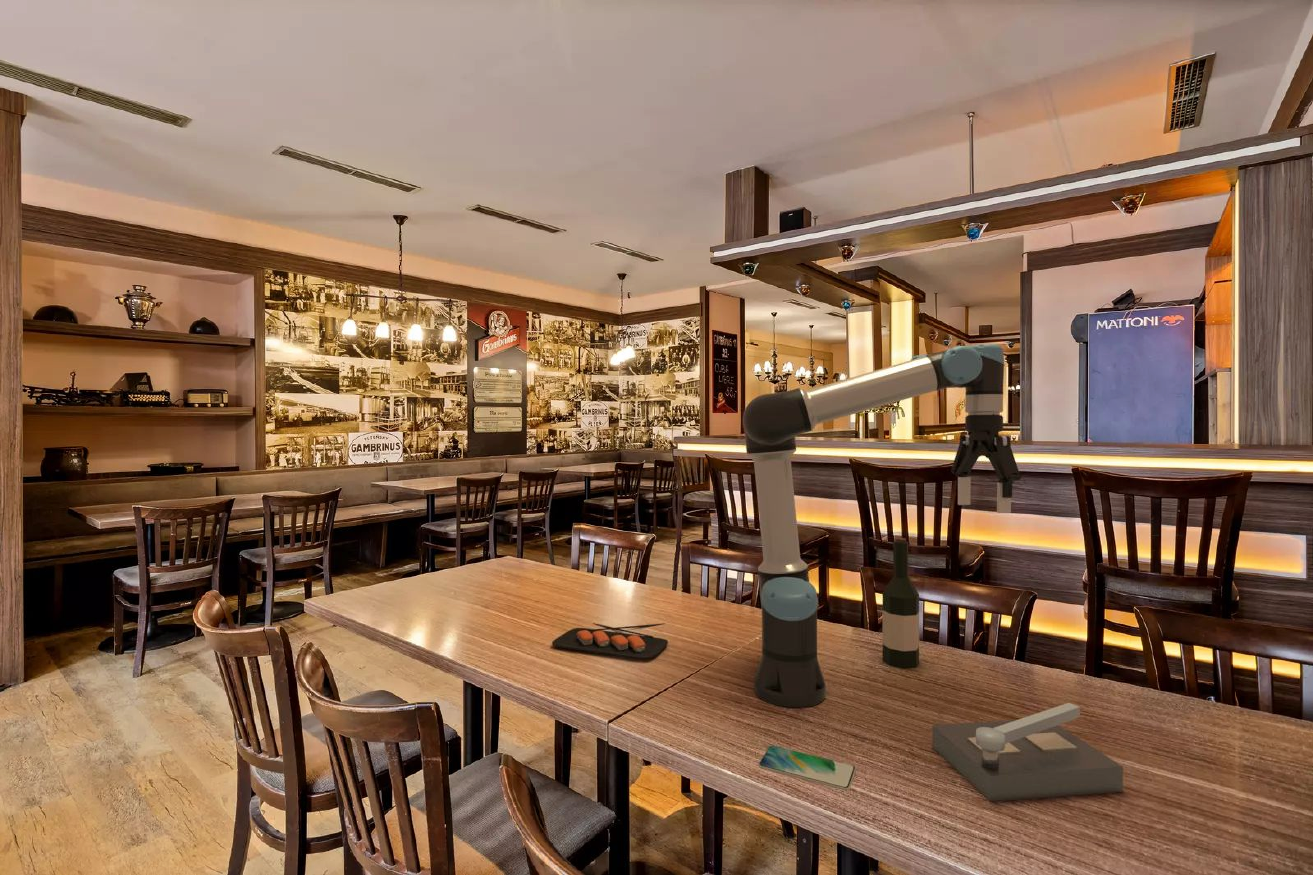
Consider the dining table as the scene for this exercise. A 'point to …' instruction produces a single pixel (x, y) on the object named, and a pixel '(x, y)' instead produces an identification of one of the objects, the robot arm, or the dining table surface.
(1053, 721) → the lever
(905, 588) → the wine bottle
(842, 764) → the smartphone
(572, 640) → the sushi plate
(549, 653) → the dining table surface
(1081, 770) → the grey base block
